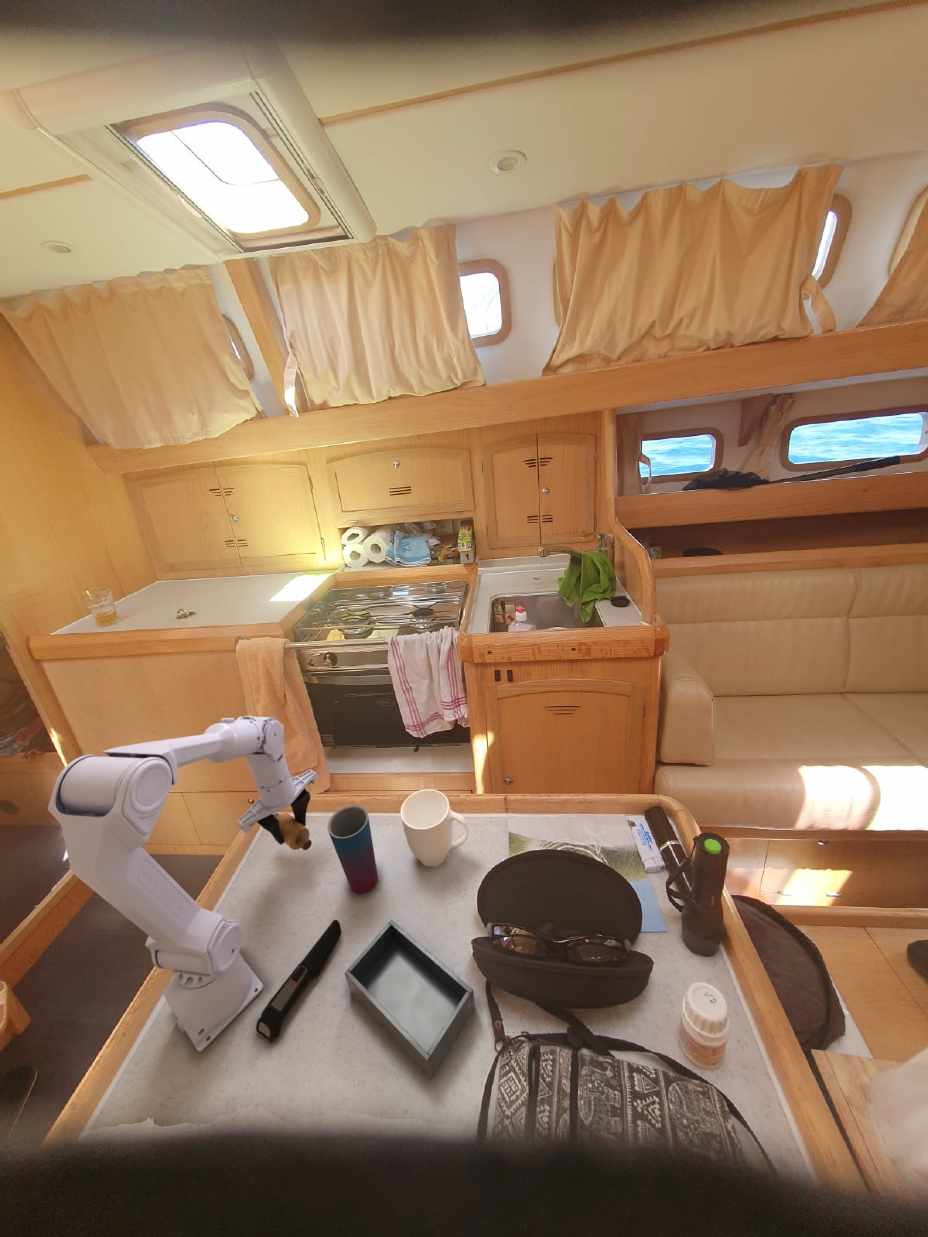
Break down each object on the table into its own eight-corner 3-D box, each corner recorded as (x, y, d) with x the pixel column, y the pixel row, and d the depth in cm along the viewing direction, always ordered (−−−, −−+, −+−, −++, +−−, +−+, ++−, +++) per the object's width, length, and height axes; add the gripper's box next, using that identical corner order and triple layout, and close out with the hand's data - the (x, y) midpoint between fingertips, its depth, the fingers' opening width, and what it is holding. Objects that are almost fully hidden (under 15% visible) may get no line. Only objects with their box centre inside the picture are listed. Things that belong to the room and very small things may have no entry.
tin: (431, 1080, 56) (427, 1061, 54) (350, 991, 66) (344, 973, 64) (475, 1008, 62) (473, 989, 60) (395, 937, 72) (391, 919, 70)
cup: (375, 857, 86) (360, 799, 80) (388, 885, 80) (374, 824, 74) (340, 876, 83) (322, 817, 77) (351, 907, 77) (333, 845, 71)
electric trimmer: (349, 936, 73) (346, 924, 72) (274, 1046, 60) (267, 1033, 59) (332, 927, 75) (328, 914, 73) (255, 1031, 62) (248, 1018, 61)
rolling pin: (300, 861, 80) (294, 846, 78) (268, 832, 87) (262, 817, 85) (319, 844, 83) (314, 829, 81) (286, 817, 89) (280, 803, 88)
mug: (405, 875, 82) (395, 827, 77) (414, 834, 90) (406, 789, 85) (468, 877, 80) (462, 829, 75) (472, 835, 88) (467, 789, 83)
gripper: (295, 745, 86) (311, 798, 91) (220, 793, 76) (243, 849, 81) (317, 758, 82) (332, 813, 87) (240, 811, 72) (263, 870, 77)
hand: (291, 832), depth 84 cm, fingers closed on rolling pin, 4 cm apart
